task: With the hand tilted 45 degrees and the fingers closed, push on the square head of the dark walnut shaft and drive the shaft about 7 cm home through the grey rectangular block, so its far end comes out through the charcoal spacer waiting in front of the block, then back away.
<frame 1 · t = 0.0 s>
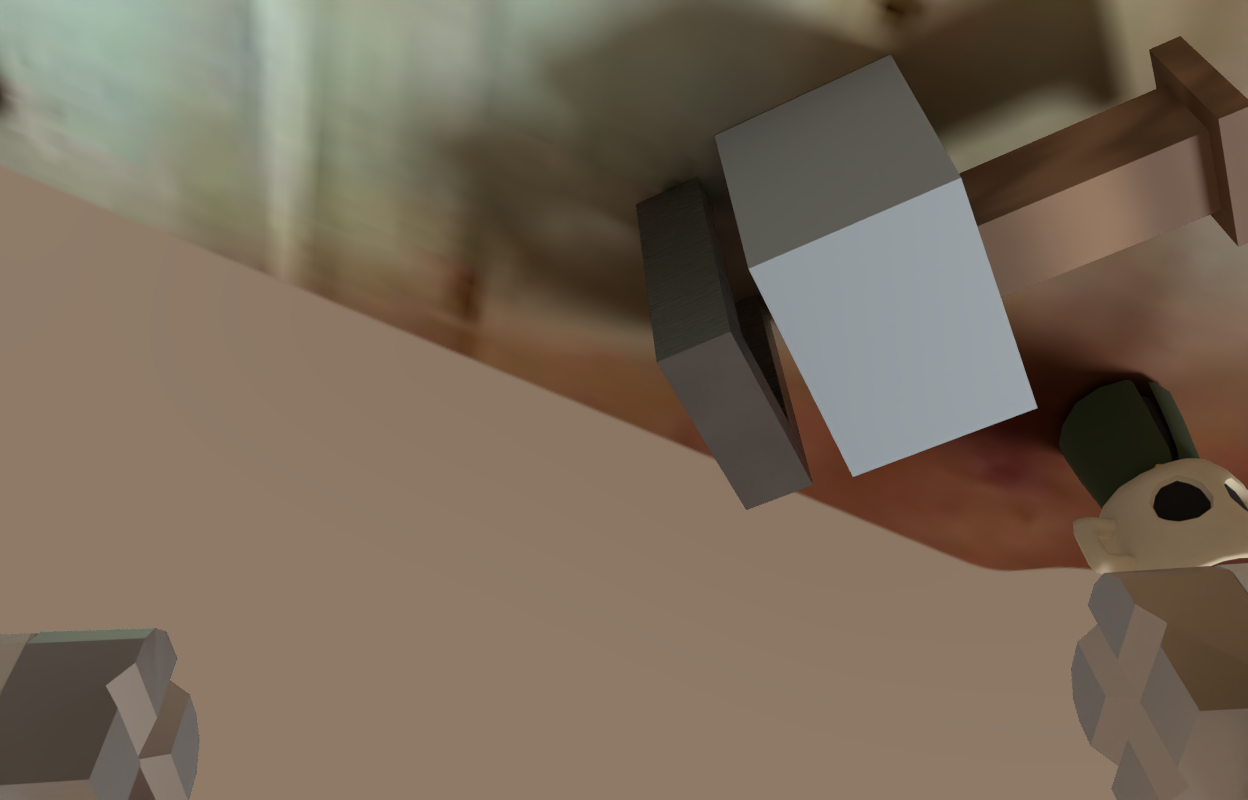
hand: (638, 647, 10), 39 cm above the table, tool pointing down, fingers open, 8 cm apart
character mug: (1110, 415, 62), on the table
grey rectangular block: (846, 204, 52), on the table
spacer: (705, 265, 54), on the table
shaft: (1001, 226, 47), point 6 cm above the table, slide at 0.0 cm
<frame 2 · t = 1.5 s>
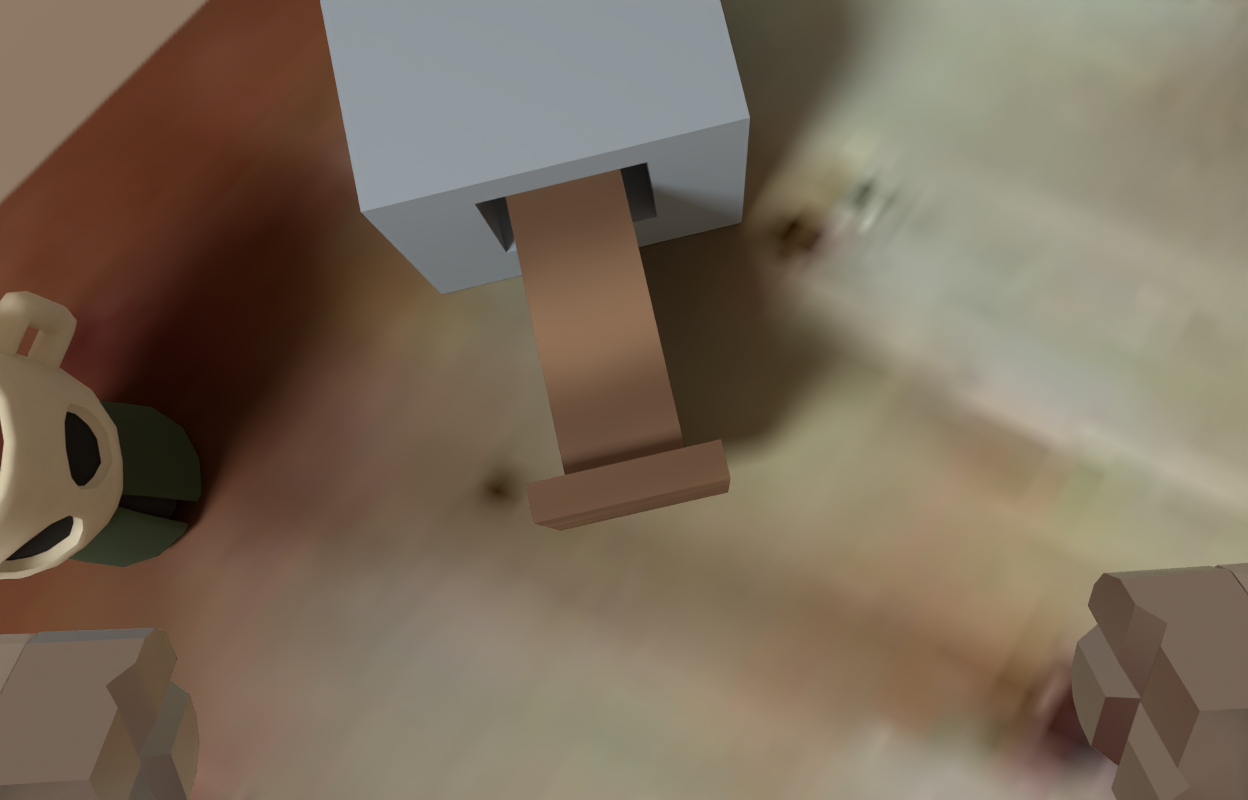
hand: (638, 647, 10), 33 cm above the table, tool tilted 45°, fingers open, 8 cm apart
character mug: (133, 485, 45), on the table
grey rectangular block: (569, 162, 45), on the table
shaft: (580, 248, 39), point 6 cm above the table, slide at 0.0 cm
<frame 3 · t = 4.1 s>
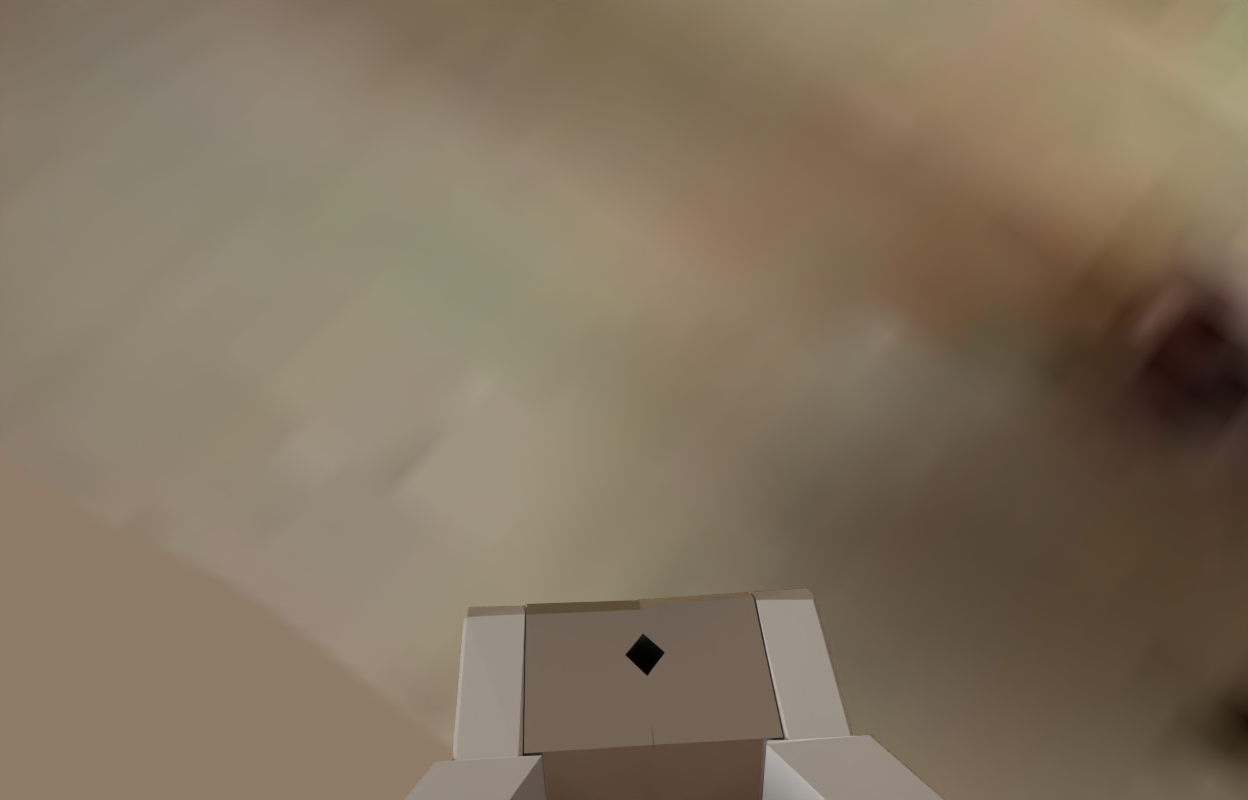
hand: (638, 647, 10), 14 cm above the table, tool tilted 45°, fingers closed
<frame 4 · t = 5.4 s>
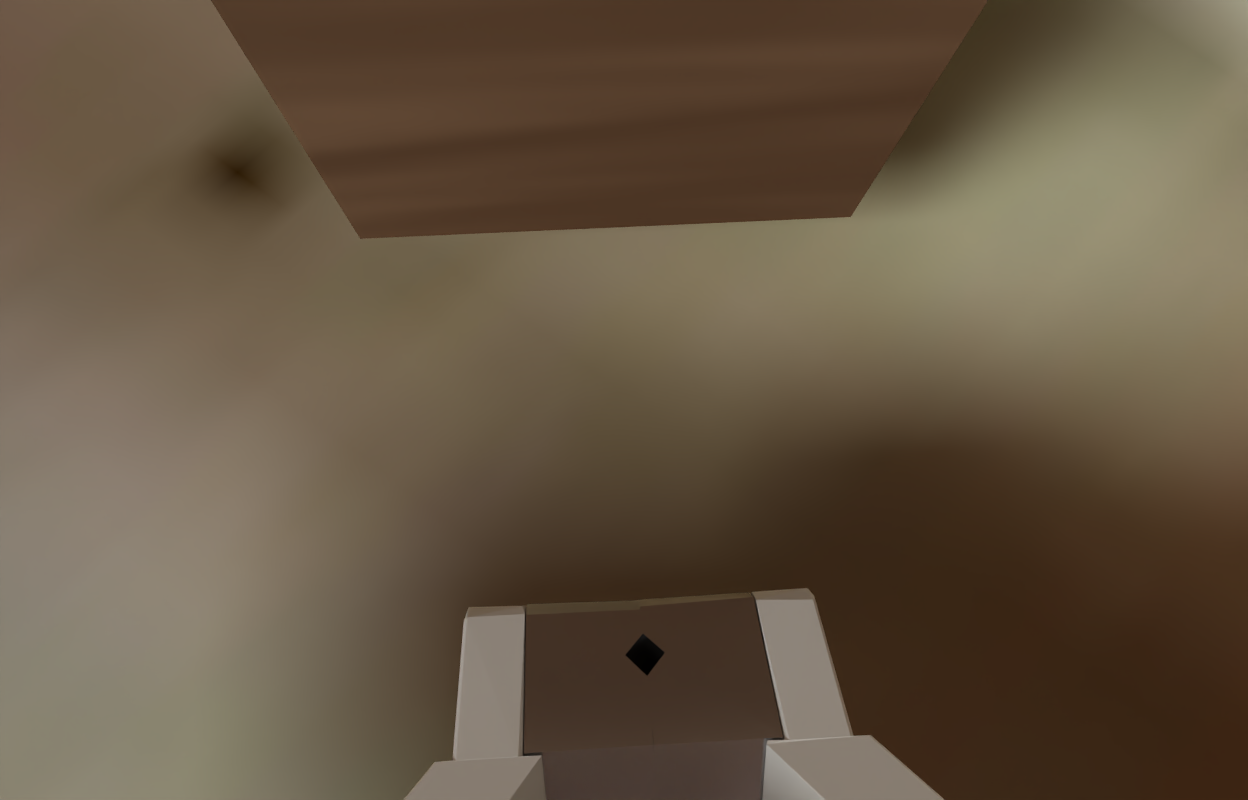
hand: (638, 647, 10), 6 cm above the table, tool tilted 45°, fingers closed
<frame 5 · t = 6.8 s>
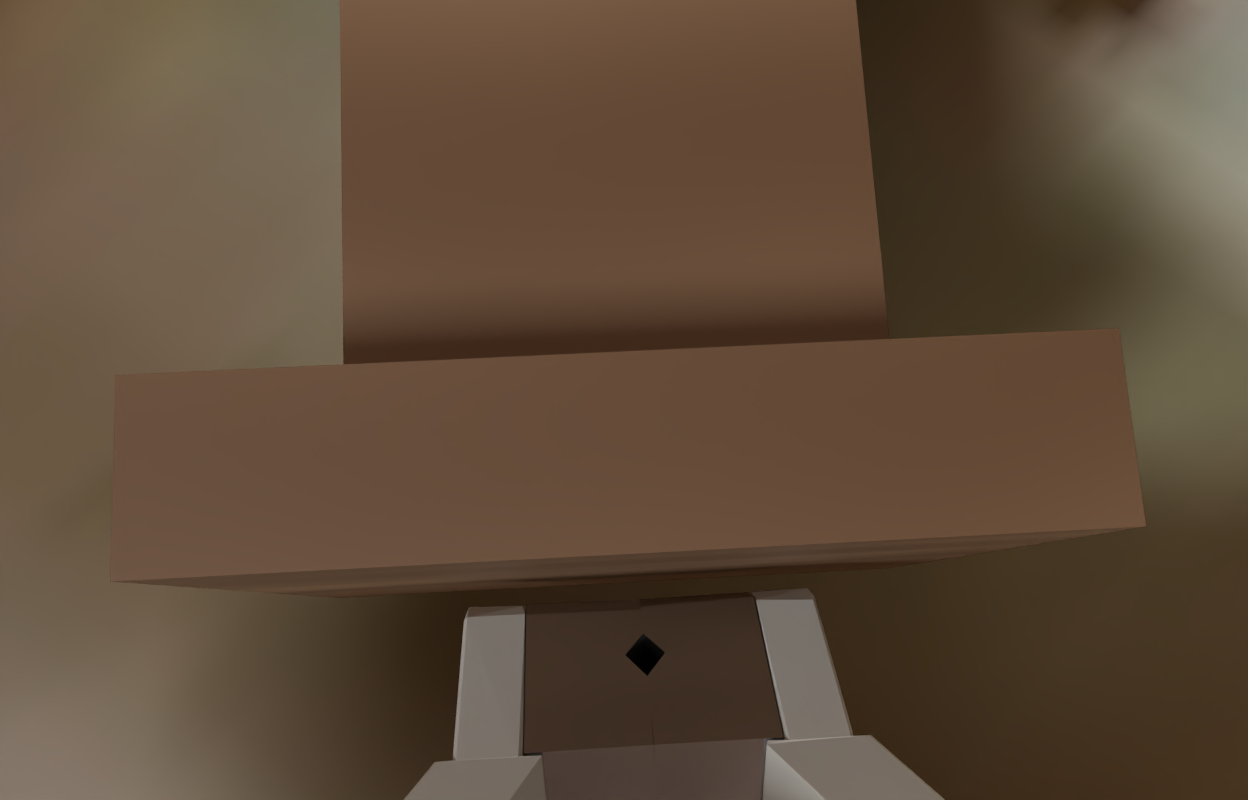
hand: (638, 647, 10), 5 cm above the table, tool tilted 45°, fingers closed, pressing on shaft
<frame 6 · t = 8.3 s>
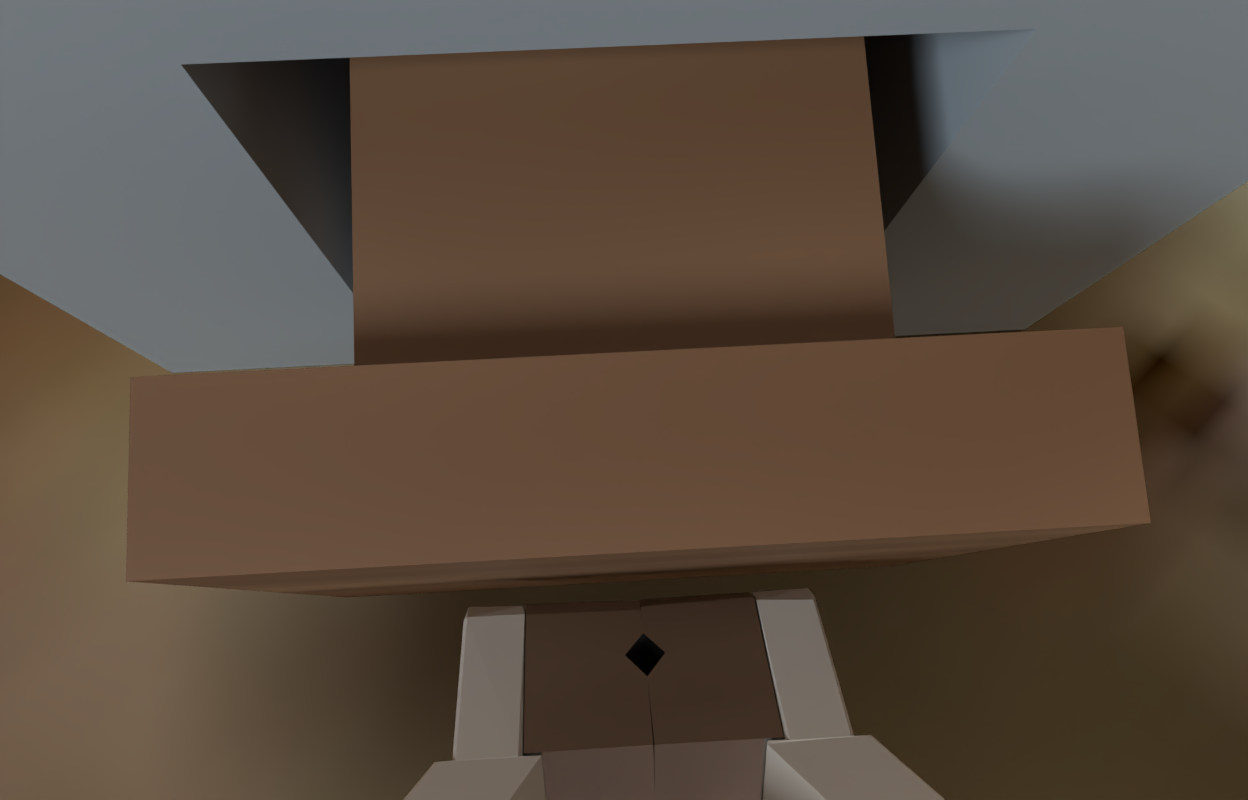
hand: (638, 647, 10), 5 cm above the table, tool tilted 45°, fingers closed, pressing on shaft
grey rectangular block: (589, 85, 17), on the table
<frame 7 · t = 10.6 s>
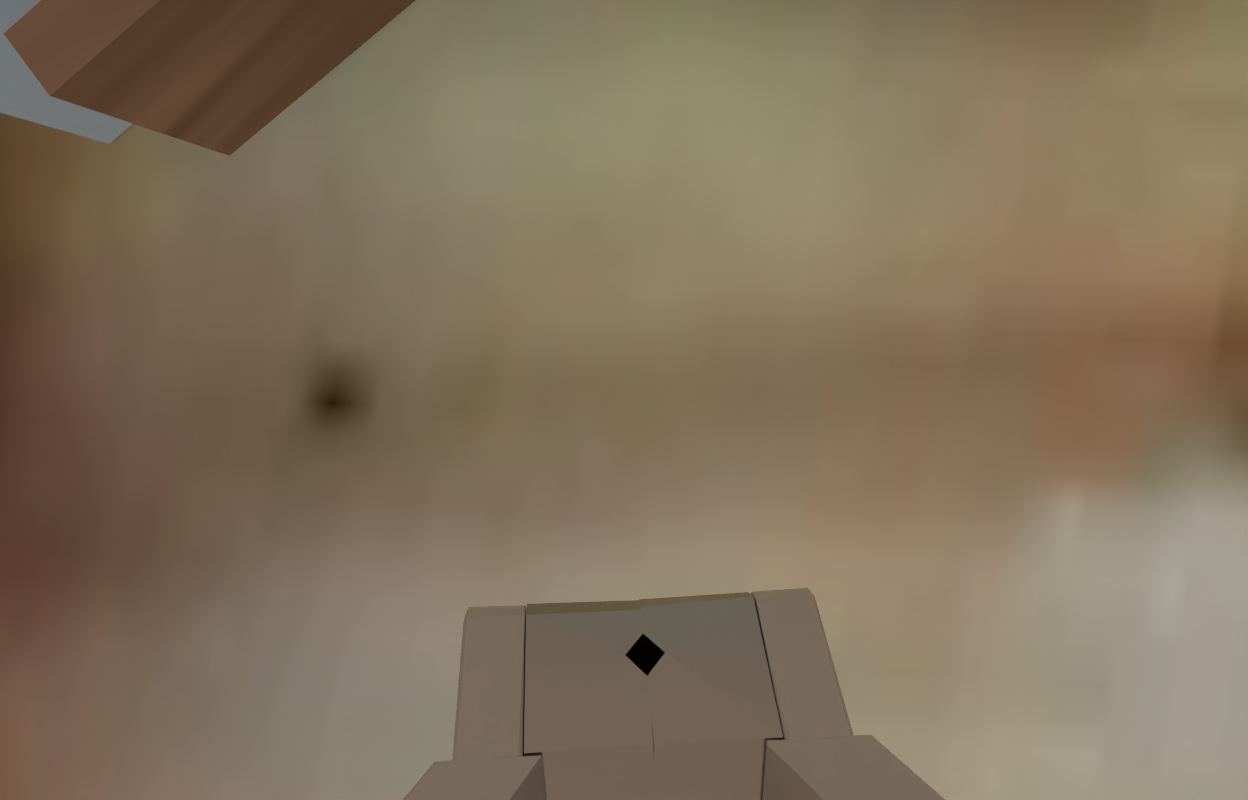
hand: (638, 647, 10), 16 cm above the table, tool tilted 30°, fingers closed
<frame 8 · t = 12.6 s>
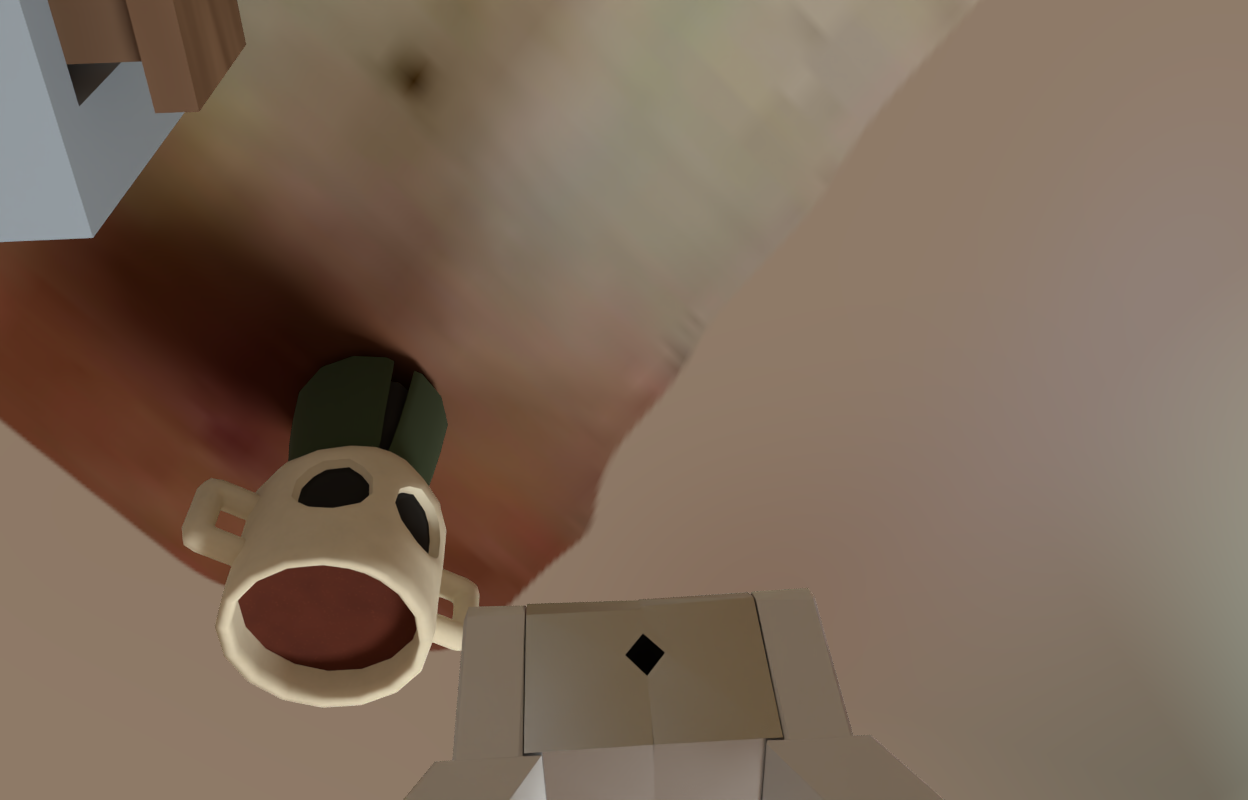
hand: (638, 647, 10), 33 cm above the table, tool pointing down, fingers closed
character mug: (374, 408, 49), on the table
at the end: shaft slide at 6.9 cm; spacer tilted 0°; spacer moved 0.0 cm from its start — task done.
